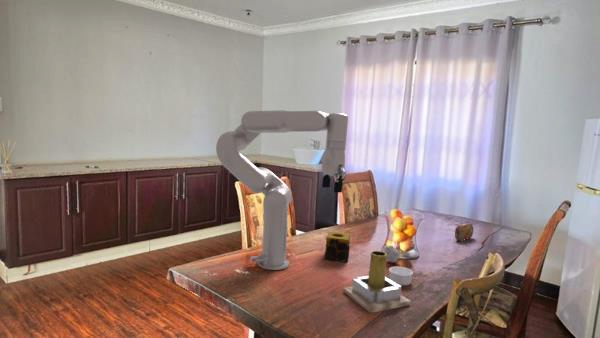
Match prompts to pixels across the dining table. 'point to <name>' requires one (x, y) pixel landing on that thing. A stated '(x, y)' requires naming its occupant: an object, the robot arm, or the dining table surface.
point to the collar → (376, 290)
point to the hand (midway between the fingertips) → (331, 189)
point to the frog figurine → (391, 253)
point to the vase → (377, 270)
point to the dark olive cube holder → (337, 246)
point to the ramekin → (401, 275)
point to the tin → (463, 231)
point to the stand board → (373, 306)
